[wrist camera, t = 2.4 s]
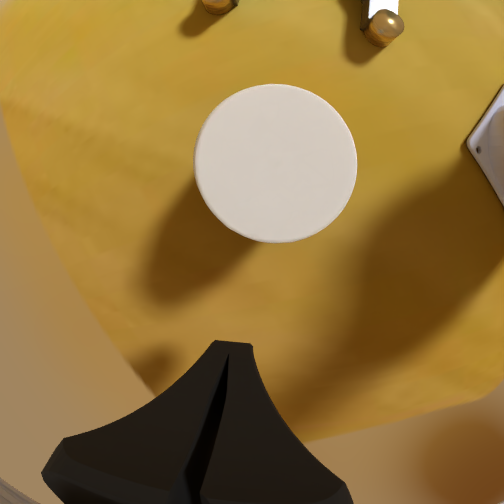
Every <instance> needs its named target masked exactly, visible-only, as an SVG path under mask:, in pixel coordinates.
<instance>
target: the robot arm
mask: <svg viewBox="0 0 504 504" xmlns="http://www.w3.org/2000/svg"><path fill="white" fill-rule="evenodd" d="M467 147H468V149H469V150H470V152H471V153H472V155H473V156H474V158H475V159H476V161H477V162H478V164H479V165H480V167H481V168H482V170H483V172H484V173H485V175H486V176H487V178H488V180H489V181H490V183H491V185H492V187H493V188H494V190H495V192H496V193H497V195H498V197H499V199H500V201H501V203H502V204H503V206H504V85H503V87H502V88H501V90H500V92H499V93H498V95H497V96H496V98H495V99H494V101H493V103H492V104H491V106H490V107H489V109H488V110H487V112H486V113H485V115H484V116H483V118H482V119H481V120H480V122H479V123H478V125H477V126H476V128H475V129H474V131H473V132H472V133H471V135H470V136H469V138H468V139H467ZM476 148H478V153H477V151H476ZM41 474H42V477H43V480H44V482H45V483H46V484H47V485H48V487H49V488H50V489H51V490H52V491H53V492H54V493H55V494H56V495H57V496H58V498H60V500H61V501H62V502H63V503H64V504H353V500H352V498H351V495H350V492H349V490H348V488H347V486H346V484H345V482H344V481H342V480H341V479H340V478H338V477H337V476H336V475H335V474H333V473H332V472H331V471H330V470H329V469H327V468H326V467H325V466H324V465H323V464H322V463H321V462H319V461H318V460H317V459H316V458H315V457H314V456H313V455H312V454H311V453H310V452H309V451H308V450H307V448H306V447H305V446H304V445H303V444H302V443H301V442H300V441H299V439H298V438H297V437H296V436H295V435H294V434H293V432H292V431H291V430H290V428H289V427H288V426H287V424H286V423H285V422H284V420H283V419H282V417H281V416H280V414H279V412H278V411H277V409H276V408H275V406H274V404H273V402H272V401H271V399H270V397H269V395H268V393H267V391H266V389H265V386H264V384H263V382H262V379H261V377H260V374H259V372H258V369H257V366H256V362H255V359H254V354H253V346H252V345H251V344H250V343H240V342H229V341H219V340H215V341H213V342H212V343H211V345H210V346H209V347H208V349H207V350H206V351H205V352H204V354H203V355H202V356H201V357H200V358H199V359H198V360H197V361H196V363H195V364H194V365H193V366H192V367H191V368H190V369H189V370H188V371H187V372H186V373H185V374H184V375H183V376H182V377H181V378H179V379H178V380H177V381H176V382H175V383H174V384H173V385H172V386H170V387H169V388H168V389H167V390H165V391H164V392H163V393H162V394H160V395H159V396H158V397H156V398H155V399H153V400H152V401H151V402H149V403H148V404H146V405H144V406H143V407H141V408H139V409H138V410H136V411H134V412H133V413H131V414H129V415H127V416H126V417H123V418H121V419H119V420H117V421H115V422H112V423H110V424H108V425H105V426H103V427H100V428H97V429H95V430H91V431H88V432H85V433H82V434H78V435H74V436H71V437H67V438H63V440H62V441H61V442H60V444H59V445H58V446H57V448H56V449H55V451H54V452H53V454H52V455H51V457H50V459H49V460H48V462H47V464H46V466H45V467H44V469H43V471H42V472H41ZM0 504H39V503H38V502H36V501H34V500H33V499H31V498H29V497H28V496H26V495H25V494H23V493H22V492H20V491H18V490H17V489H15V488H14V487H13V486H11V485H10V484H8V483H7V482H5V481H4V480H3V479H1V478H0ZM499 504H504V501H502V502H501V503H499Z"/></svg>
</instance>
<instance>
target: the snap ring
mask: <svg viewBox="0 0 504 504" xmlns="http://www.w3.org/2000/svg"><path fill="white" fill-rule="evenodd" d="M202 2H203V4H204V7H205V9H206V10H207V11H208V12H209V13H211V14H215V15H219V14H224V13H226V12H228V11H230V10H231V9H232V7H233V5H236V6H238V3H239V0H202ZM361 2H362V4H363V6H362V17H361V26H360V30H363V31H364V34H365V37H366V38H367V40H368V41H369V42H370V43H372V44H373V45H375V46H378V47H385V46H388V45H389V44H390V43H391V42H392V41H393V40H394V39H395V38H396V37H398V36H399V35H400V34H401V33H402V32H403V30H404V23H403V21H402V19H401V18H400V16H399V15H398V0H361Z"/></svg>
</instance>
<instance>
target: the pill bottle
mask: <svg viewBox="0 0 504 504" xmlns="http://www.w3.org/2000/svg"><path fill="white" fill-rule="evenodd" d="M193 168H194V175H195V180H196V183H197V186H198V189H199V191H200V193H201V195H202V197H203V199H204V201H205V203H206V204H207V206H208V207H209V209H210V210H211V211H212V213H213V214H214V215H215V216H216V217H217V218H218V219H219V220H220V221H221V222H222V223H223V224H224V225H225V226H227V227H228V228H229V229H231V230H232V231H234V232H236V233H238V234H240V235H242V236H244V237H247V238H249V239H252V240H255V241H260V242H266V243H289V242H294V241H298V240H301V239H305V238H307V237H310V236H312V235H314V234H316V233H318V232H319V231H321V230H322V229H324V228H325V227H327V226H328V225H329V224H330V223H331V222H333V221H334V220H335V218H337V217H338V215H339V214H340V213H341V211H342V210H343V209H344V207H345V206H346V204H347V202H348V200H349V198H350V196H351V194H352V191H353V188H354V185H355V180H356V175H357V155H356V149H355V144H354V141H353V138H352V135H351V133H350V131H349V129H348V127H347V125H346V123H345V122H344V120H343V119H342V118H341V116H340V115H339V114H338V112H337V111H336V110H335V109H334V108H333V107H332V106H331V105H330V104H328V103H327V102H326V101H325V100H323V99H322V98H320V97H319V96H317V95H315V94H313V93H311V92H309V91H307V90H304V89H301V88H298V87H295V86H290V85H284V84H267V85H259V86H254V87H250V88H247V89H244V90H241V91H239V92H237V93H235V94H233V95H231V96H230V97H228V98H227V99H225V100H224V101H222V102H221V103H220V104H219V105H218V106H217V107H216V108H215V109H214V110H213V111H212V112H211V113H210V115H209V116H208V117H207V119H206V120H205V122H204V124H203V125H202V127H201V129H200V131H199V134H198V136H197V139H196V143H195V148H194V155H193Z"/></svg>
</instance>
